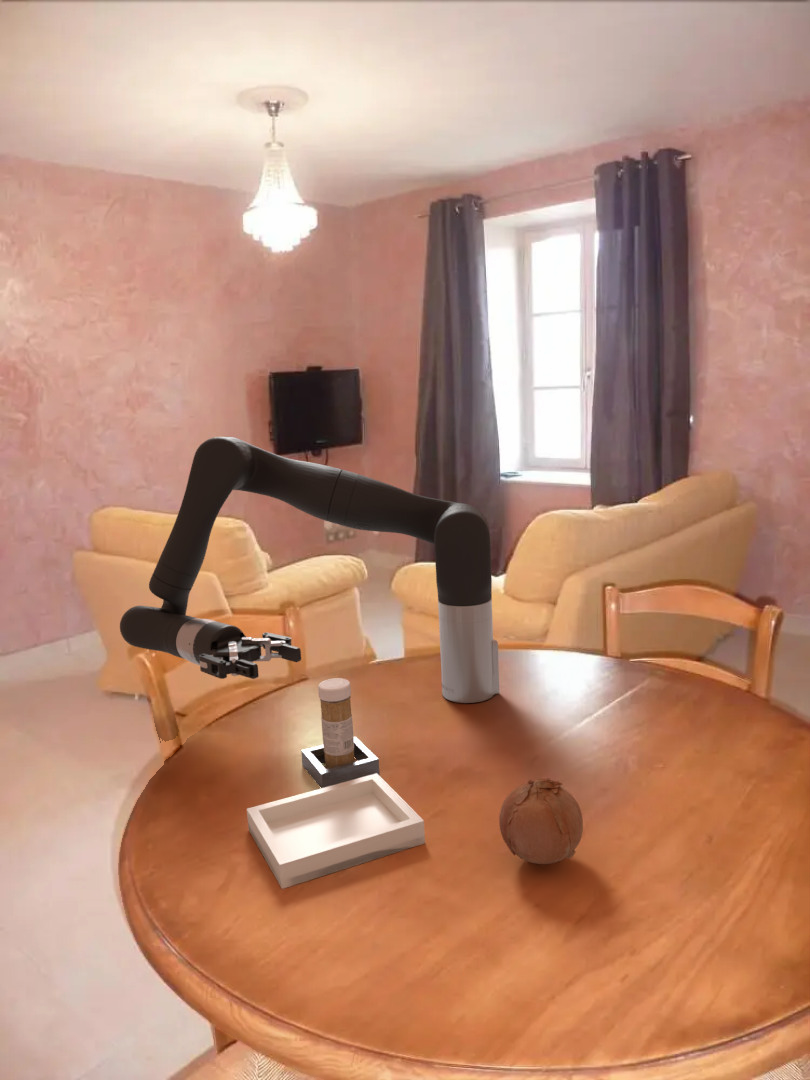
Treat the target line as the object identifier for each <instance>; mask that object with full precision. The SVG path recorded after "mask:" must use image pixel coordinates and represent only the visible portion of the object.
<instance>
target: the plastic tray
mask: <svg viewBox="0 0 810 1080" xmlns="http://www.w3.org/2000/svg"><path fill="white" fill-rule="evenodd" d="M246 817H247V829H248V831H249V834H250V835H251V837H252V838H253V840H254V842H255V844H256V845H257V847H258V849H259V852H260V853H261V854H262V857H263V858H264V860H265V862H266V863H267V866H268V867H269V869H270V871H271V872H272V874H273V876H274V877H275V879H276V881H277V883H278V885H279V886H280V888H281V889H282V890H284V889H286V888H290V887H292V886H296V885H300V884H302V883H305V882H308V881H312V880H315V879H319V878H321V877H324V876H327V875H330V874H334V873H336V872H340V871H342V870H345V869H348V868H353V867H355V866H358V865H359V866H360V865H361V864H365V863H368V862H372V861H374V860H377V859H380V858H383V857H387V856H390V855H393V854H395V853H398V852H402V851H405V850H409V849H411V848H415V847H417V846H421V845H425V844H426V839H425V838H426V836H425V820H424V819H423V818H422V817H421V816H420V815H419V814H418V813H417V812H416V811H415V810H414V809H413V808H412V807H411V806H410V805H409V804H408V803H407V802H406V801H405V800H404V799H403V798H402V797H401V796H400V795H399V794H398V793H397V792H396V790H394V789H393V788H392V787H391V786H390V785H389V783H387V782H386V780H384V779H383V778H382V777H381V776H380V775H378V774H377V773H376V774H372V775H369V776H365V777H361V778H358V779H354V780H350V781H347V782H343V783H339V784H336V785H332V786H328V787H325V788H318V789H315V790H311V791H307V792H303V793H299V794H296V795H292V796H289V797H285V798H280V799H277V800H274V801H271V802H266V803H262V804H258V805H255V806H253V807H247V808H246Z"/></svg>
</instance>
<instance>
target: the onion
mask: <svg viewBox="0 0 810 1080" xmlns="http://www.w3.org/2000/svg"><path fill="white" fill-rule="evenodd" d="M562 785H563V783H562V782H560V781H559V780H552V779H551V778H550V777H549V778H538V779H536V780H532V779H531V780H528V781H526V782H525V783H522V784H521V785H518V786H517V787H516V788H515V789H513V790H512V791H510V792H509V793H508V794H507V796H506V797H505V799H504V801H503V802H502V804H501V807H500V812H499V816H498V817H499V818H498V820H499V821H498V822H499V823H498V824H499V831H500V834H501V836H502V838H503V839H502V840H503V842H504V843H505V845H506V846H507V848H508V849H509V851H510V853H512V855H513V856H514V857H515V856H518V858H520V859H521V860H524V861H525V862H529V863H531V864H535V865H536V866H538V865H550V864H555V863H560V861H562V860H564V859H566V858H567V859H568V860H569V859H570V860H571V859H572V858H573V857H574V855H575V854H576V851H575V850H576V848H578V846H579V844H580V842H581V839H582V837H583V830H584V828H583V827H584V821H583V813H582V810H581V808H580V806H579V803H578V801H577V800H576V799H575V797H574V796H573V794H572V793H570V792H569V791H568V790H567V789H566V788H565V787H563V786H562Z"/></svg>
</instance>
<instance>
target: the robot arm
mask: <svg viewBox="0 0 810 1080" xmlns="http://www.w3.org/2000/svg"><path fill="white" fill-rule="evenodd" d="M233 491H241V492H242V491H243V492H248V493H253V494H258V495H262V496H266V497H271V498H274V499H276V500H280V501H281V502H284V503H286V504H288V505H289V506H291V507H294V508H295V509H296V510H297V509H298V510H300V511H301V512H303V513H306V514H308V515H310V516H313V517H315V518H316V519H320V520H323V521H325V522H328V523H332V524H336V525H338V526H343V527H344V528H345V527H346V528H350V529H354V530H360V531H366V532H367V531H368V532H378V533H379V532H380V533H391V534H392V533H393V534H394V533H395V534H401V535H406V536H409V537H412V538H416V539H418V540H419V539H420V540H421V541H424V542H428V543H430V544H432V545H434V559H435V561H434V562H435V581H436V582H435V583H436V589H437V603H438V604H437V605H438V609H437V610H438V626H439V627H438V629H439V649H440V652H439V653H440V666H441V667H440V670H441V694H442V696H443V698H444V699H446V700H448V701H451V702H454V703H461V704H470V703H471V704H472V703H473V704H474V703H480V702H485V701H486V700H489V699H491V698H493V696H494V695H497V694H500V670H499V669H500V668H499V667H500V666H499V665H500V663H499V659H500V658H499V641H498V640H497V639H494V626H493V602H492V601H493V598H492V597H493V596H492V593H493V592H492V589H493V587H492V585H493V584H492V581H493V579H492V551H491V547H492V546H491V544H492V543H491V531H490V526H489V522H488V520H487V518H486V515H485V514H484V513H483V512H482V511H481V510H480V509H478V508H477V507H475V506H473V505H471V504H467V503H463V502H462V503H461V502H455V501H450V500H444V499H439V498H432V497H427V496H424V495H420V494H416V493H413V492H410V491H407V490H404V489H402V488H400V487H397V486H394V485H391V484H389V483H385V482H383V481H380V480H377V479H374V478H371V477H368V476H365V475H362V474H359V473H356V472H353V471H348V470H346V469H341V468H337V467H334V466H330V465H325V464H321V463H320V464H319V463H316V462H315V463H314V462H311V461H310V462H309V461H304V460H297V459H292V458H288V457H285V456H281V455H278V454H275V453H272V452H270V451H268V450H265V449H263V448H260V447H258V446H256V445H253V444H251V443H249V442H247V441H245V440H242V439H239V438H237V437H232V436H215V437H210V438H208V439H206V440H204V441H203V442H202V443H200V444H199V446H198V447H197V449H196V451H195V453H194V456H193V459H192V462H191V467H190V471H189V475H188V479H187V483H186V487H185V492H184V495H183V498H182V501H181V504H180V508H179V511H178V513H177V516H176V519H175V520H174V521H175V522H174V524H173V526H172V529H171V532H170V534H169V536H168V539H167V540H166V543H165V545H164V547H163V550H162V552H161V553H160V554H161V555H160V556H159V558H158V561H157V563H156V566H155V568H154V570H153V573H152V575H151V577H150V580H149V581H148V582H149V583H148V588H149V591H150V592H151V594H153V595H154V596H155V597H157V598H159V599H161V600H162V601H163V602H162V605H161V607H155V606H148V605H136V606H133V607H130V608H129V609H127V610H126V611H125V612H124V613H123V615H122V617H121V619H120V623H119V630H120V635H121V637H122V638H123V640H124V641H125V642H126V643H127V644H128V645H130V646H133V647H136V648H140V649H143V650H144V649H145V650H151V651H158V652H163V653H165V654H168V655H169V654H170V655H172V656H174V657H177V658H180V659H182V660H183V659H184V660H186V661H187V662H190V663H191V664H195V665H196V666H199V669H200V672H202V673H204V674H207V675H209V676H211V677H215V678H218V679H220V680H224V679H226V678H227V677H228V675H231V676H232V677H237V676H241V677H246V678H249V679H252V680H254V679H257V678H259V676H260V675H259V665H258V663H255V662H270V661H271V660H272V659H279V658H280V659H281V660H282V659H283V660H286V661H290V662H292V663H293V662H294V663H298V662H300V661H302V654H301V653H302V651H301V648H300V647H298V646H294V645H292V637H290V636H285V635H281V634H276V633H271V632H267V631H266V632H263V633H262V638H261V637H256V638H254V637H252V636H246V635H245V633H244V632H243V631H242V629H240V628H239V627H237V626H236V625H232V624H228V623H225V622H220V621H217V620H213V619H208V618H198V617H195V616H191V615H187V610H188V603H189V598H190V597H189V596H190V593H191V590H192V589H193V586H194V584H195V582H196V579H197V577H198V575H199V572H200V570H201V568H202V566H203V563H204V561H205V558H206V554H207V549H208V545H209V541H210V536H211V533H212V530H213V527H214V524H215V522H216V519H217V517H218V515H219V514H220V511H221V509H222V507H223V506H224V504H225V502H226V501H227V499H228V498H229V496H230V495H231V493H232V492H233ZM262 649H263V650H264V651H265V655H262Z"/></svg>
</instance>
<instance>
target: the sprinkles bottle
mask: <svg viewBox="0 0 810 1080" xmlns="http://www.w3.org/2000/svg"><path fill="white" fill-rule="evenodd" d="M317 687H318V688H317V689H318V690H317V691H318V698H319V701H320V711H321V715H320V716H321V717H320V718H321V719H320V720H321V730H322V731H321V732H322V742H323V743H322V745H323V746H324V752H325V767H324V768H325V769H329V768H333V767H337V766H340V765H344V764H348V763H352V762H356V759H355V758H354V737H355V735H354V723H353V714H352V705H351V695H352V688H351V687H352V686H351V683H350V681H349V680H348V679H346V678H341V677H335V678H333V677H332V678H328V679H324V680H323V681H321V682H319V684H318V686H317Z"/></svg>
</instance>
